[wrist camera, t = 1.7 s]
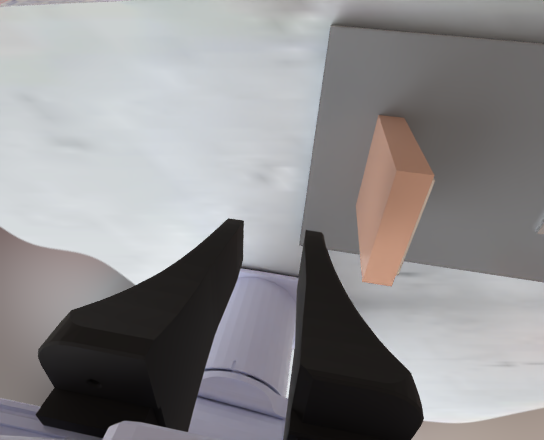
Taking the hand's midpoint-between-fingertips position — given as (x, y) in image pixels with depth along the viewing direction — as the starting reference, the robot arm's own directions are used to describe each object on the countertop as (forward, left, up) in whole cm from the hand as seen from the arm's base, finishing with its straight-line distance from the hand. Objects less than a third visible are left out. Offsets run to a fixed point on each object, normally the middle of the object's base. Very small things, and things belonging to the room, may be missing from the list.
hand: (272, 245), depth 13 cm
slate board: (0, -10, -10) cm, 14 cm away
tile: (0, -5, -9) cm, 10 cm away
